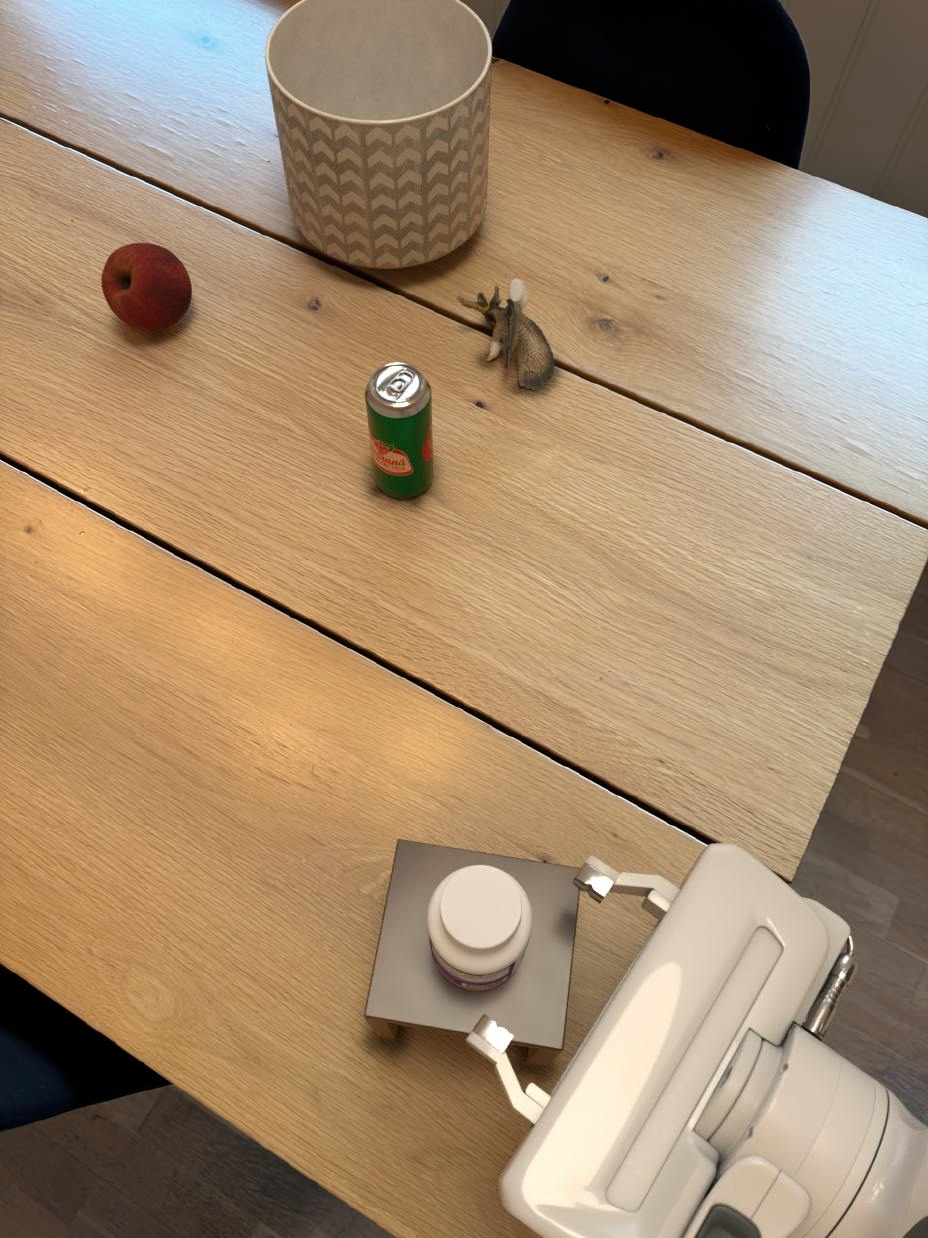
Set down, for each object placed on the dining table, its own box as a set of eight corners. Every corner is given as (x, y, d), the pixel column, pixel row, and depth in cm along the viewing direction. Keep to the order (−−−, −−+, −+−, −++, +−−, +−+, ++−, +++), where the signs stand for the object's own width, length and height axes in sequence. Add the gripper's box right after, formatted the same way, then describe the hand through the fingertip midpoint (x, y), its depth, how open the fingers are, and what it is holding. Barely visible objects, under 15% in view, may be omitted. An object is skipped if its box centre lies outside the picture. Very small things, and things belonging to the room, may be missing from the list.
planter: (342, 138, 107) (323, -41, 90) (513, 185, 104) (524, 8, 87) (261, 260, 98) (224, 87, 82) (443, 315, 95) (441, 146, 79)
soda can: (362, 481, 87) (349, 388, 76) (399, 443, 88) (392, 347, 78) (408, 511, 85) (402, 421, 75) (445, 472, 87) (444, 379, 76)
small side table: (562, 910, 70) (582, 868, 59) (544, 1066, 66) (563, 1051, 55) (406, 885, 71) (397, 838, 60) (377, 1037, 66) (363, 1016, 56)
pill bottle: (465, 875, 59) (467, 828, 51) (542, 929, 58) (559, 891, 49) (410, 954, 57) (402, 920, 48) (489, 1013, 56) (496, 988, 47)
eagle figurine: (438, 337, 93) (492, 389, 88) (469, 263, 89) (527, 314, 84) (500, 346, 98) (553, 396, 93) (531, 276, 94) (589, 325, 89)
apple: (100, 314, 95) (72, 247, 88) (171, 275, 97) (149, 207, 90) (144, 361, 92) (118, 296, 85) (215, 319, 95) (196, 253, 88)
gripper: (898, 928, 48) (648, 763, 52) (679, 1354, 40) (403, 1127, 44) (851, 950, 54) (629, 800, 57) (651, 1329, 46) (409, 1128, 50)
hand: (529, 945), depth 51 cm, fingers open, 8 cm apart
